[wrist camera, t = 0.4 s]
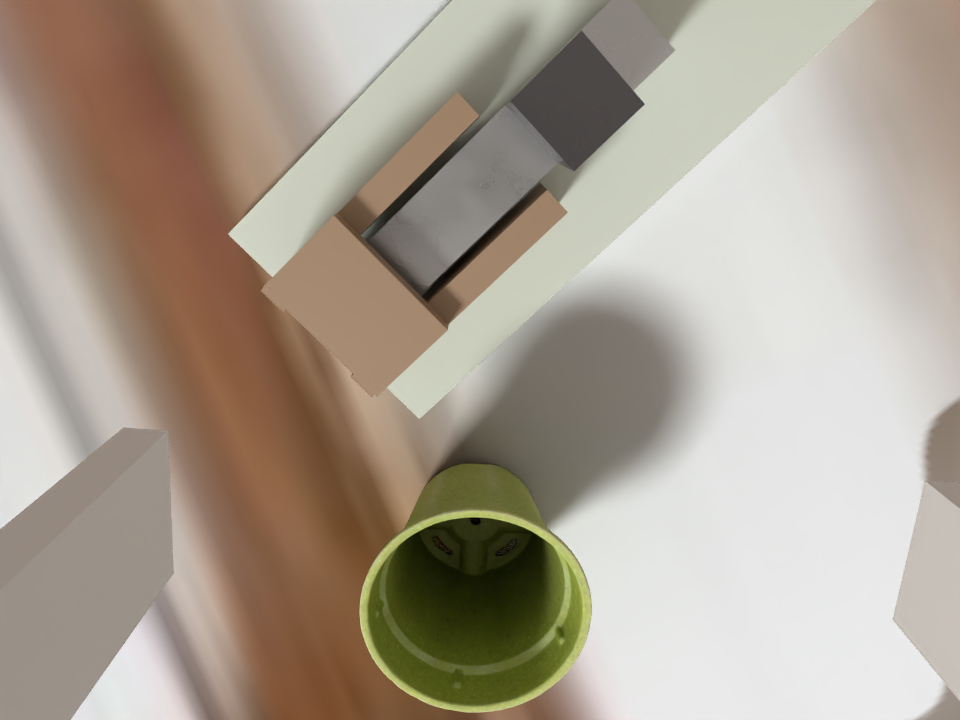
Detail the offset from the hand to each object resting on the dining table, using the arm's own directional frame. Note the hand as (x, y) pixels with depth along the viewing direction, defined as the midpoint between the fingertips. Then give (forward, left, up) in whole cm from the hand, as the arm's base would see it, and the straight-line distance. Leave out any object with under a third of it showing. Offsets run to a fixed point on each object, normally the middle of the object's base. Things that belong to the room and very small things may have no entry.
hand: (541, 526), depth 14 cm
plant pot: (+8, -10, -25) cm, 28 cm away
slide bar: (-4, +2, -23) cm, 24 cm away
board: (-4, +7, -25) cm, 26 cm away
